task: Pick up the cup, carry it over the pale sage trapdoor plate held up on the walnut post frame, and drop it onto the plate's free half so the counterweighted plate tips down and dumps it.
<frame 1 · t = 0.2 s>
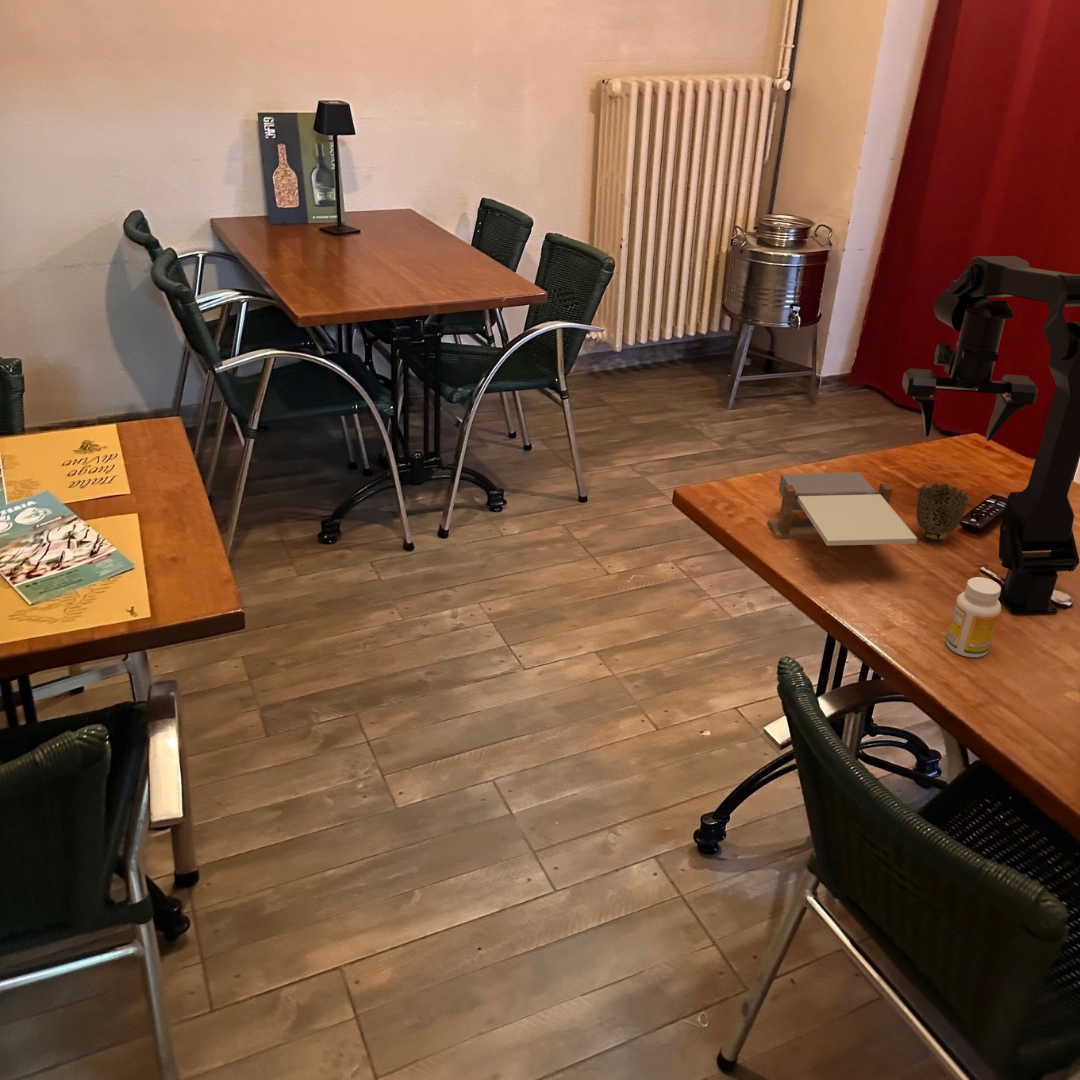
hand: (956, 437, 155), 14 cm above the table, fingers open, 9 cm apart
post frame: (829, 534, 156), on the table
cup: (932, 539, 155), on the table
supplement bottle: (966, 648, 129), on the table
trapdoor: (843, 512, 150), point 6 cm above the table, hinge at 0.0°
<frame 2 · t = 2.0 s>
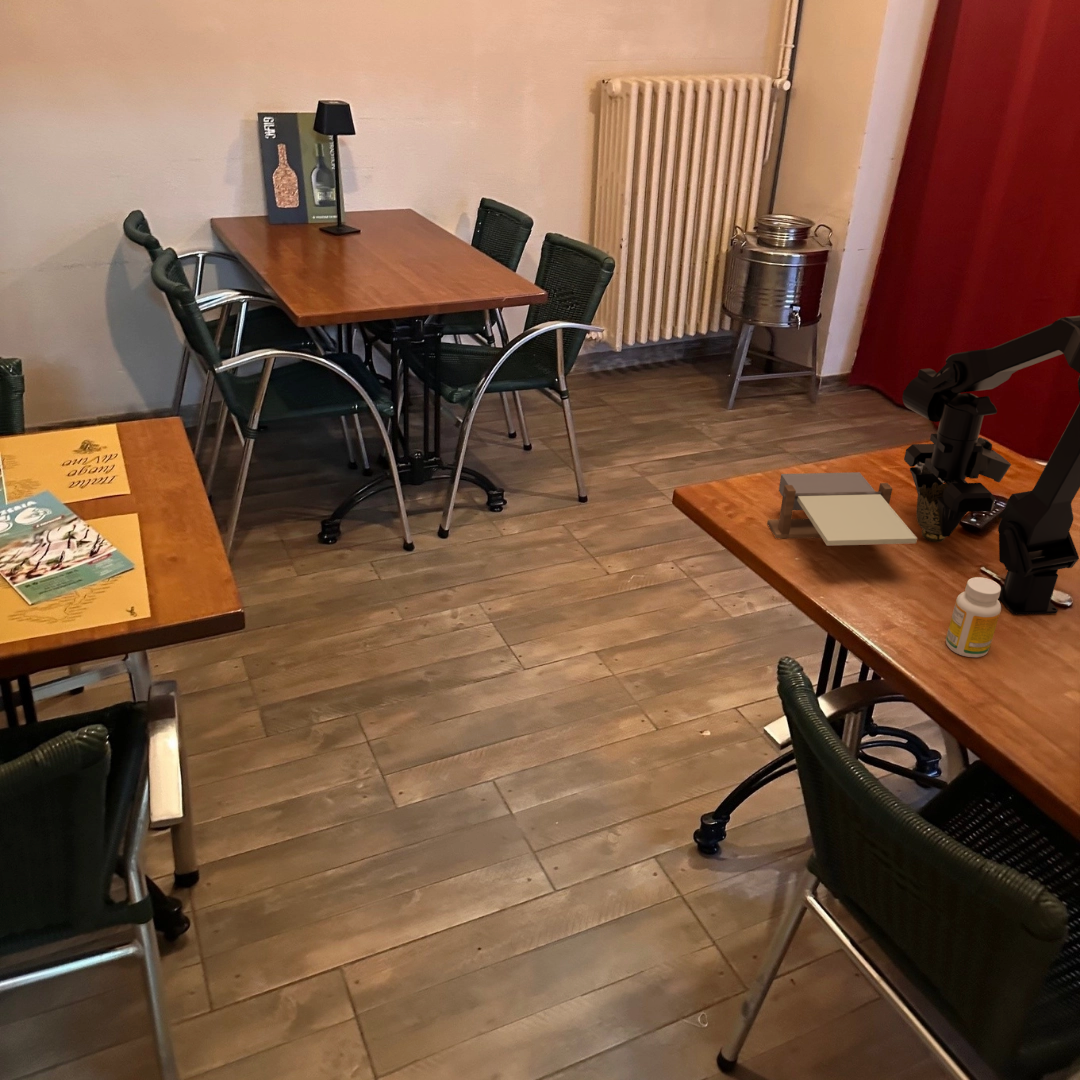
hand: (936, 525, 154), 2 cm above the table, fingers closed on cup, 6 cm apart
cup: (932, 539, 155), on the table, touching gripper
everything else where it was.
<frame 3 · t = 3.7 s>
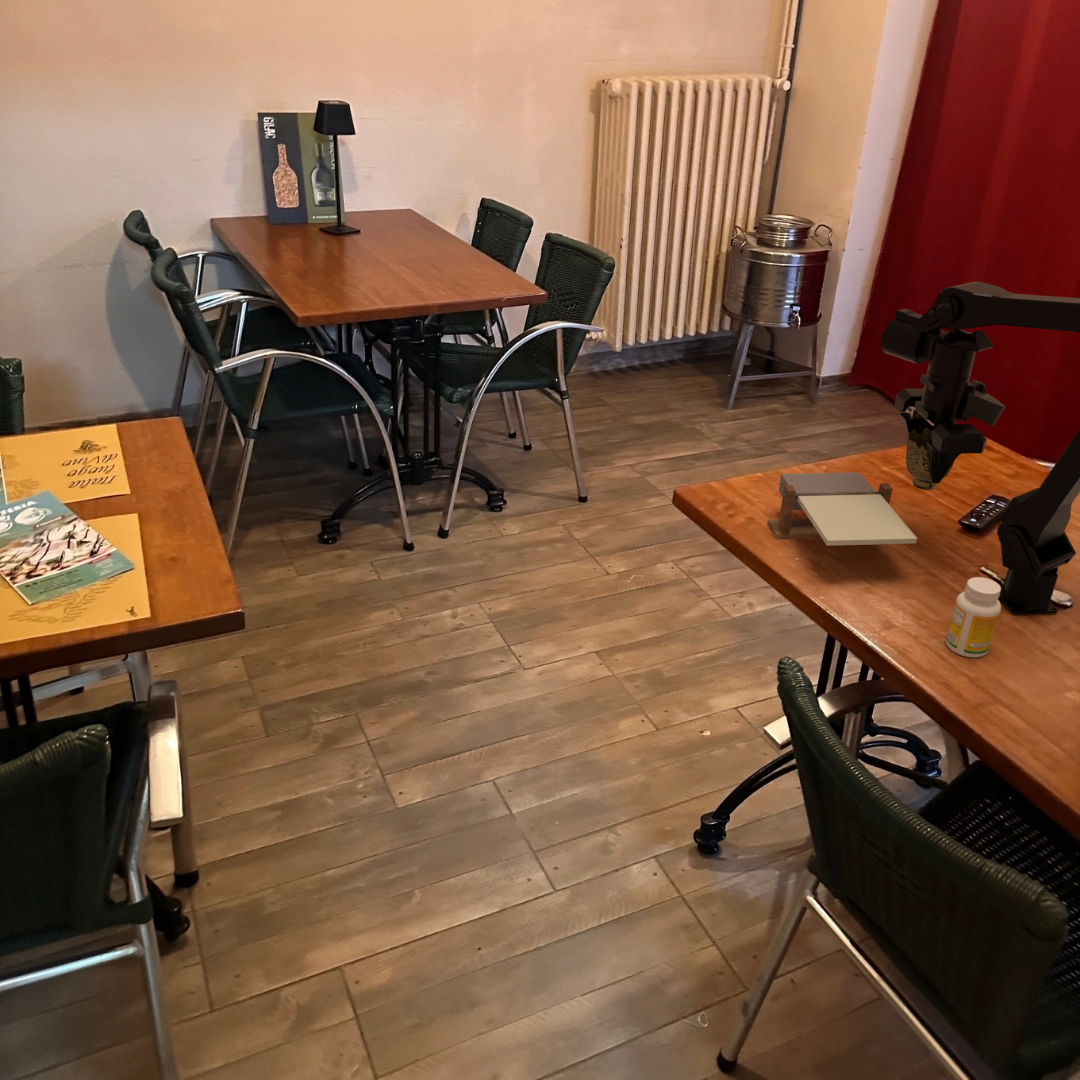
hand: (926, 473, 147), 12 cm above the table, fingers closed on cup, 6 cm apart
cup: (923, 487, 148), point 10 cm above the table, touching gripper
everything else where it was.
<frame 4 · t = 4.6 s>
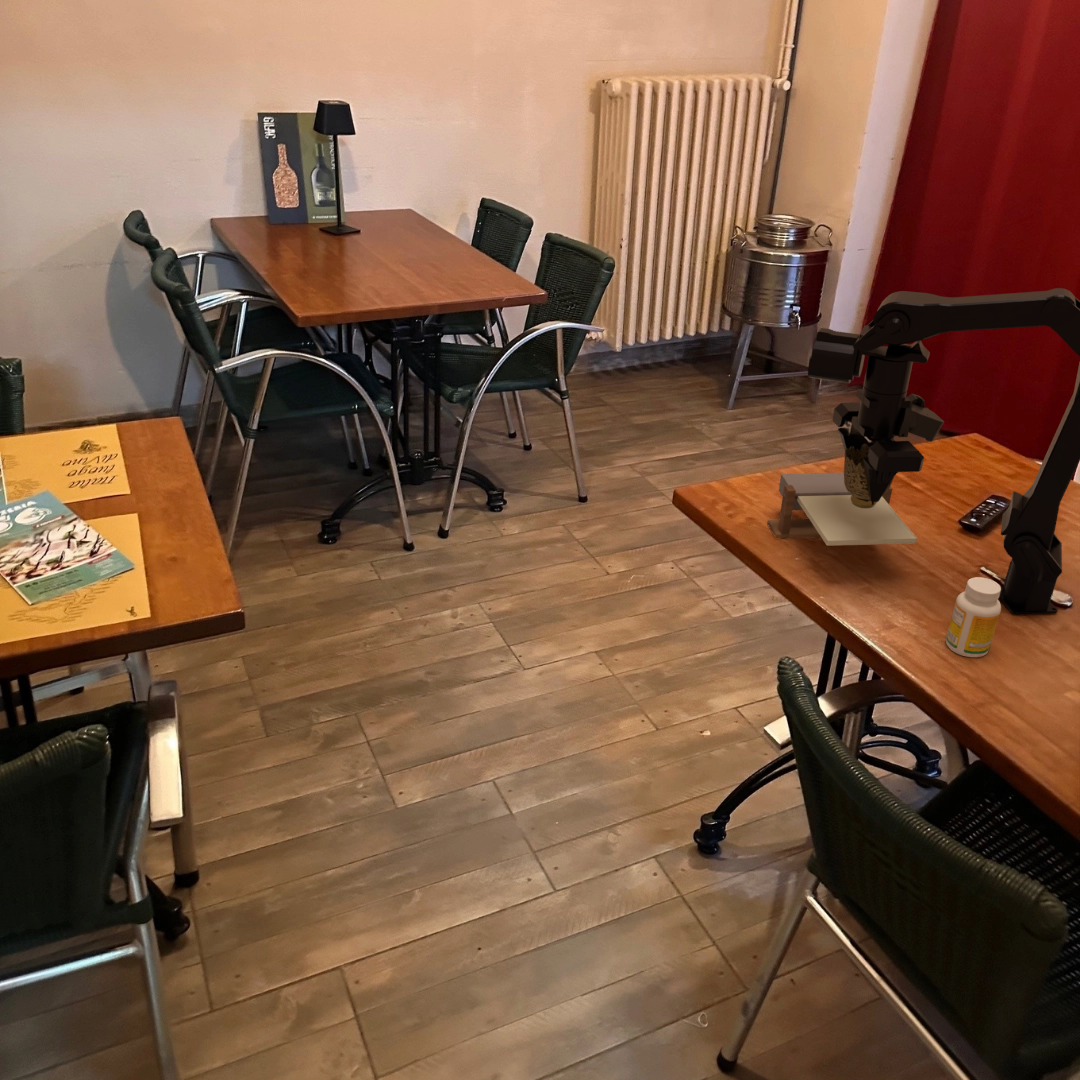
hand: (865, 490, 141), 12 cm above the table, fingers closed on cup, 6 cm apart
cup: (862, 505, 142), point 10 cm above the table, touching gripper
everything else where it was.
when the fingers open (12 cm above the table, at t = 5.3 s): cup drops 4 cm, resting on trapdoor.
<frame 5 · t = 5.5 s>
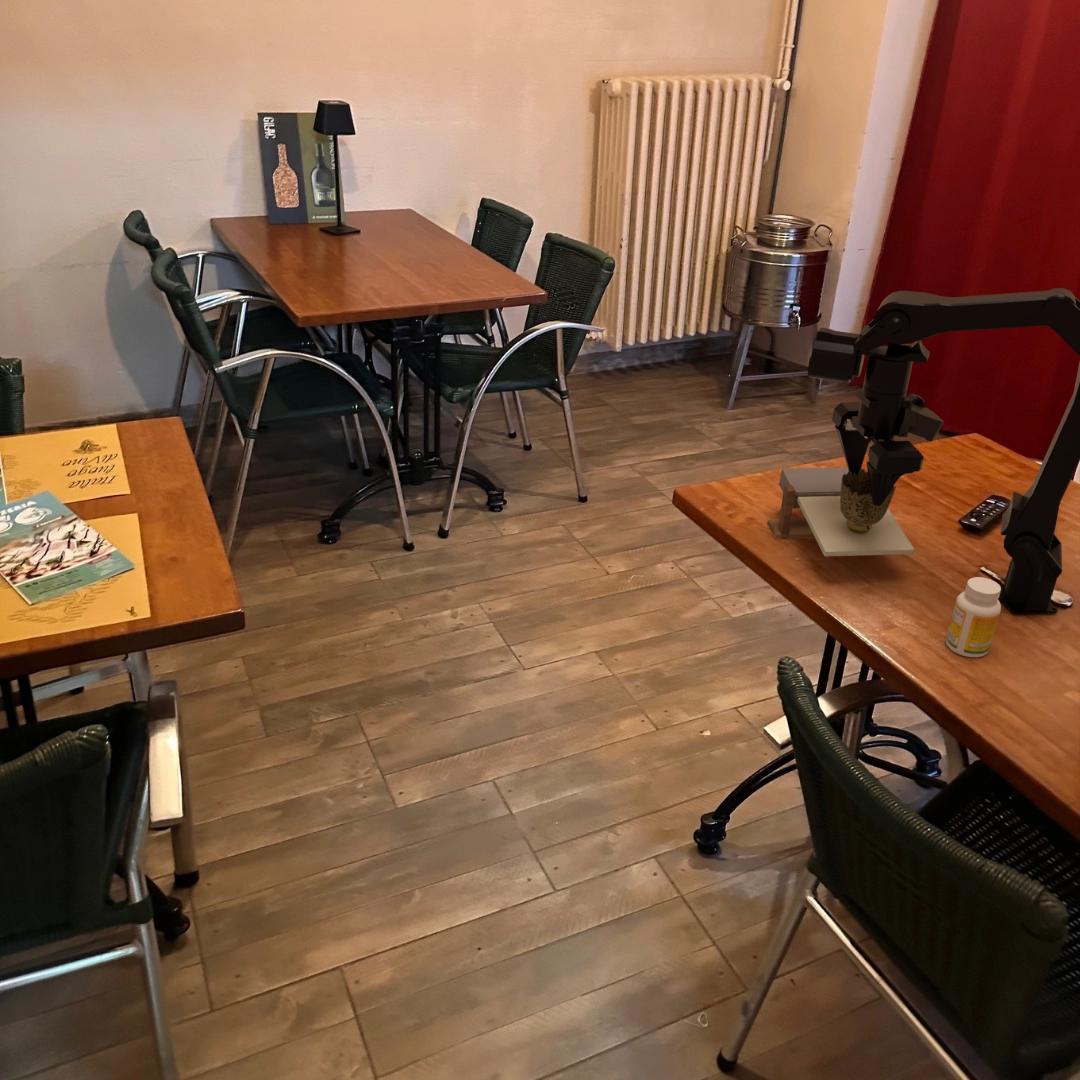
hand: (865, 490, 141), 12 cm above the table, fingers open, 9 cm apart
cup: (857, 529, 144), point 6 cm above the table, touching gripper, trapdoor
trapdoor: (842, 514, 150), point 5 cm above the table, hinge at -7.2°, touching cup
everything else where it was.
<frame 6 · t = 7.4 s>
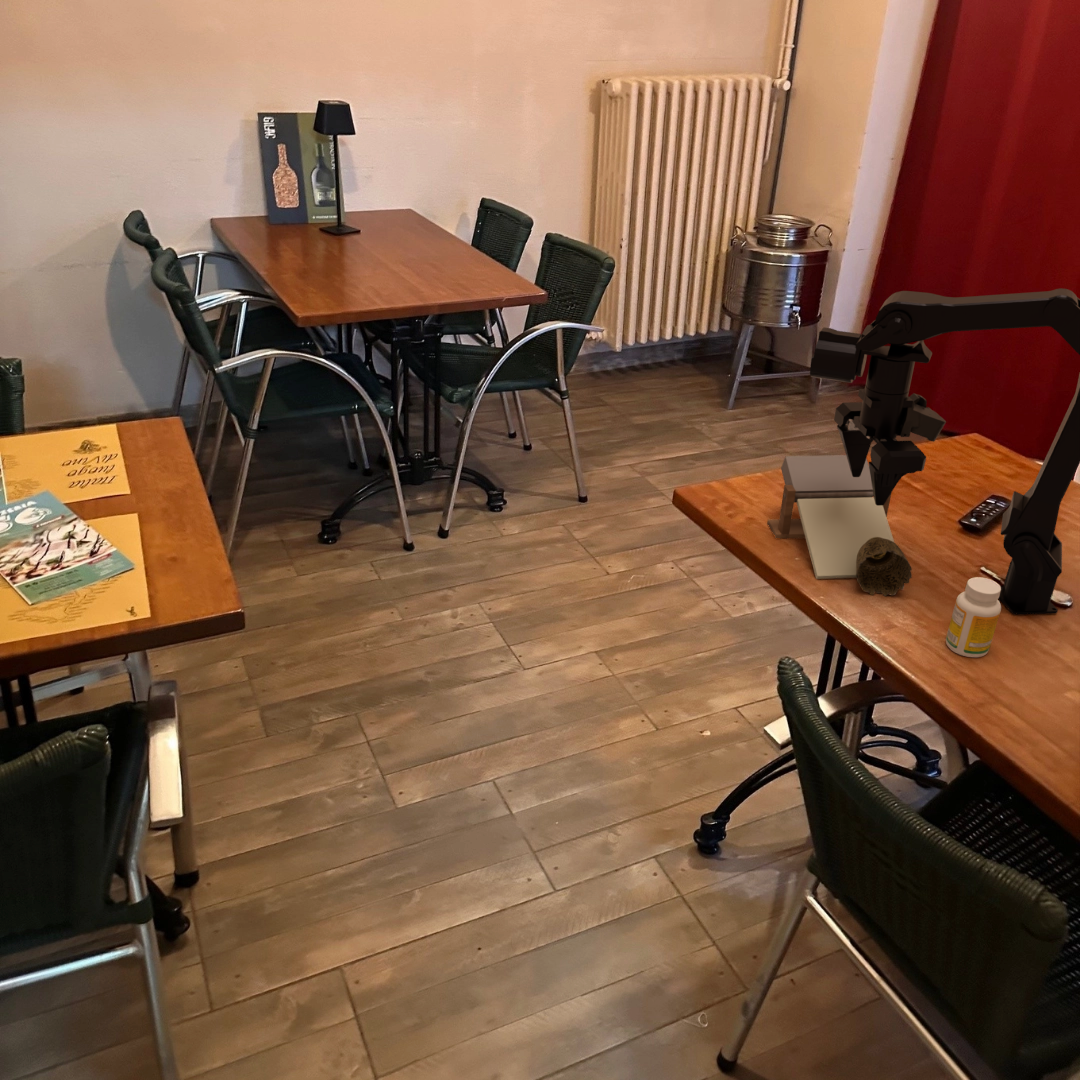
hand: (867, 490, 141), 12 cm above the table, fingers open, 9 cm apart
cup: (875, 544, 145), point 4 cm above the table, touching trapdoor
trapdoor: (839, 518, 151), point 4 cm above the table, hinge at -26.4°, touching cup
everything else where it was.
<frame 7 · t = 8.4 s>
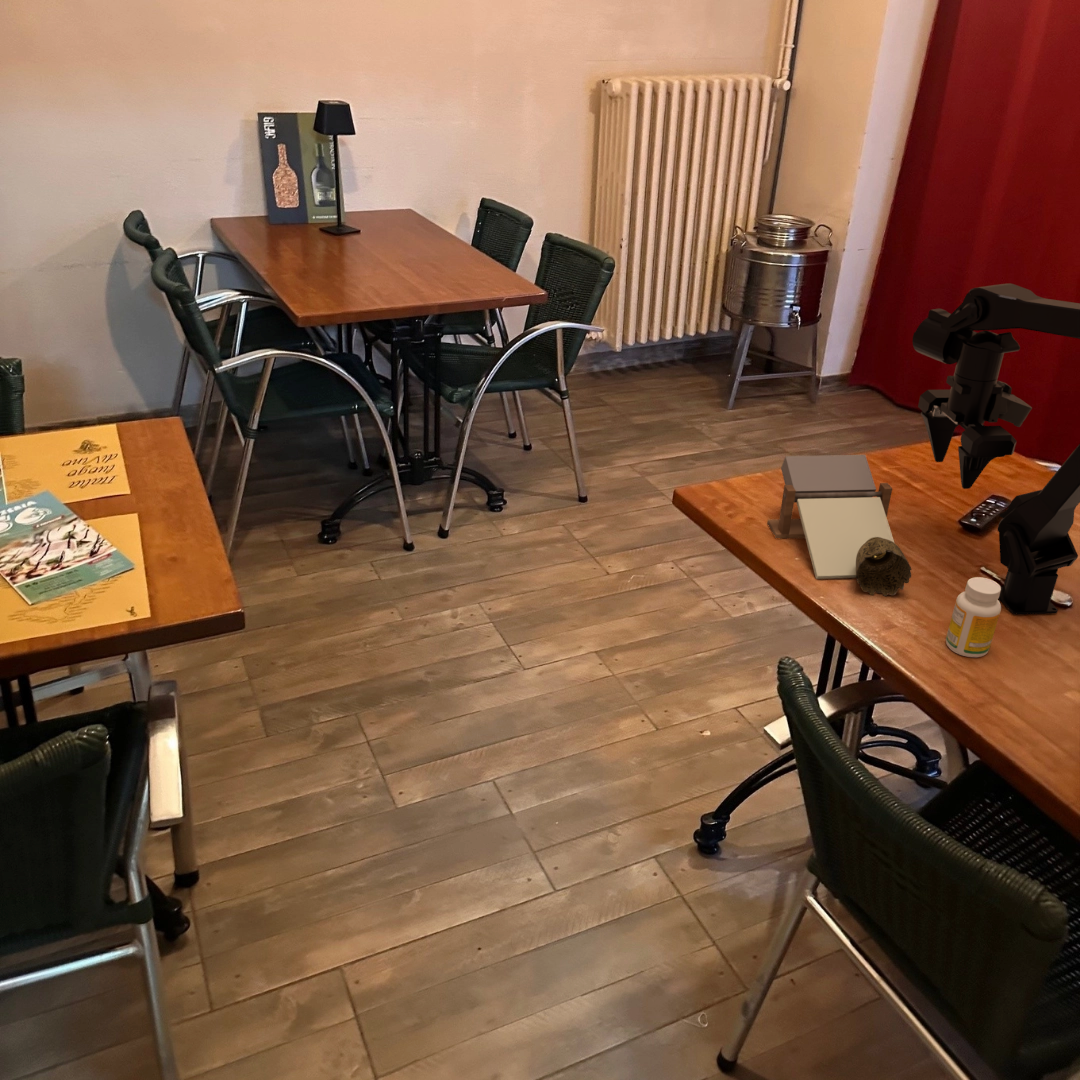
hand: (952, 474, 146), 12 cm above the table, fingers open, 9 cm apart
nothing on the table moved.
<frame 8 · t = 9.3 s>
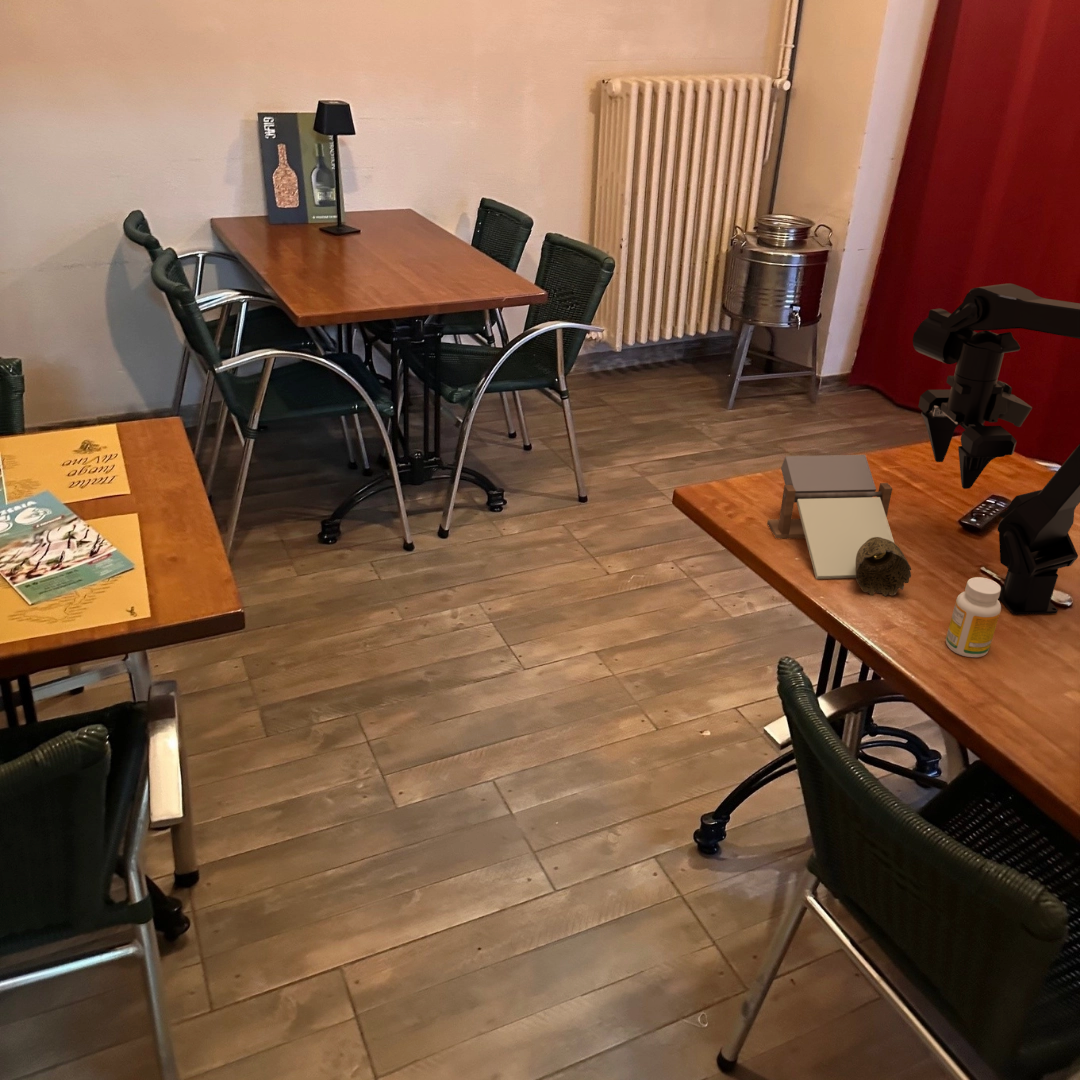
hand: (952, 474, 146), 13 cm above the table, fingers open, 9 cm apart
trapdoor: (839, 518, 151), point 4 cm above the table, hinge at -26.5°, touching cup
everything else where it was.
at the end: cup point 4.0 cm above the table; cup moved 16.4 cm from its start; the gripper is holding nothing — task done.
